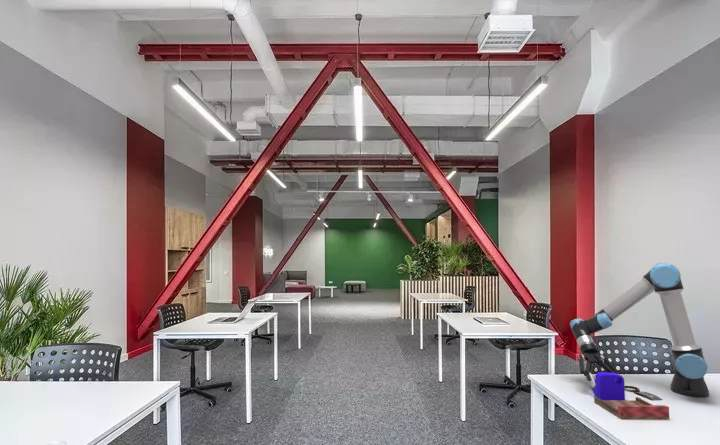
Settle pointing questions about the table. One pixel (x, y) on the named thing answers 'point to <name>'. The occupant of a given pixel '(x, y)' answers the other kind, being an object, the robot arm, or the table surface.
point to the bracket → (609, 386)
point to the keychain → (642, 393)
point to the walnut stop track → (627, 402)
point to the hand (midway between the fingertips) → (605, 386)
